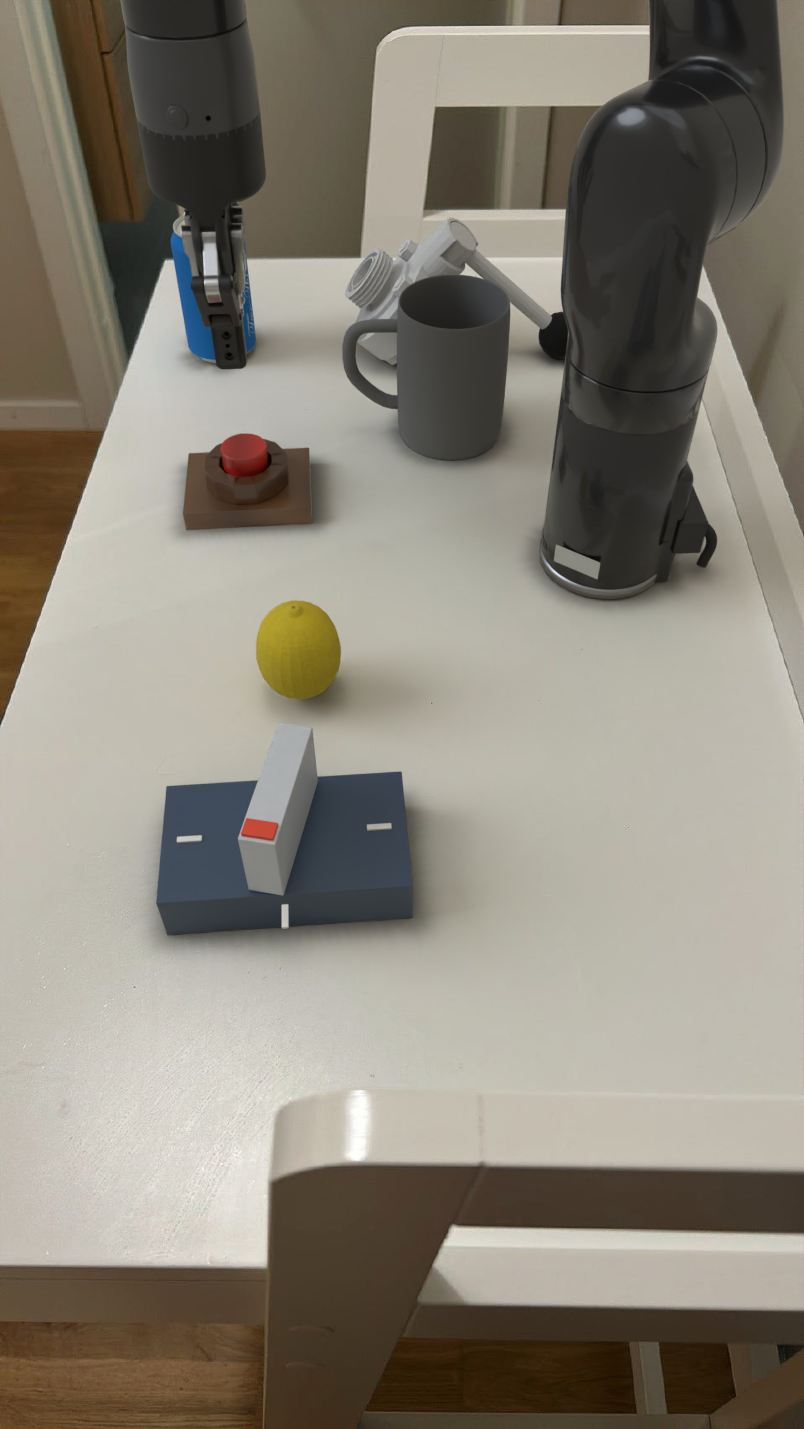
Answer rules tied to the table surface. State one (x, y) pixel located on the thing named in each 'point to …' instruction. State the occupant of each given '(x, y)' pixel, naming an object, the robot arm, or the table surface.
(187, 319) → the beverage can
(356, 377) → the mug
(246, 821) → the white slab
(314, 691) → the lemon
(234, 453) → the button
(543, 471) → the table surface
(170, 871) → the blue dial base
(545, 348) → the valve
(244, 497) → the button block
